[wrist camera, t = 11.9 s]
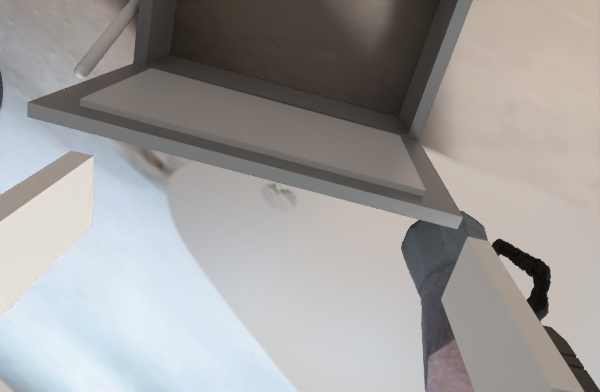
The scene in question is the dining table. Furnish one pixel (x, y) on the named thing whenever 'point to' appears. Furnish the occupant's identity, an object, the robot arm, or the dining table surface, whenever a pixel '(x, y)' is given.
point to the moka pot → (432, 283)
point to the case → (264, 118)
